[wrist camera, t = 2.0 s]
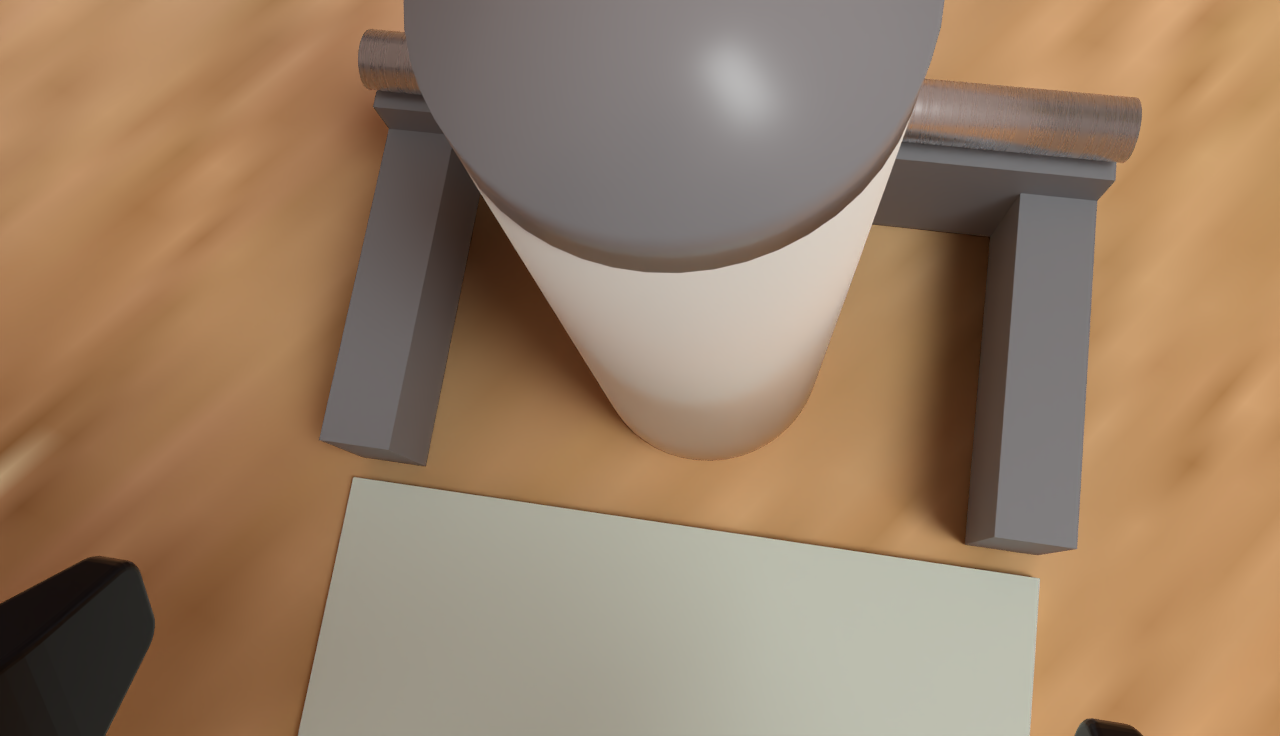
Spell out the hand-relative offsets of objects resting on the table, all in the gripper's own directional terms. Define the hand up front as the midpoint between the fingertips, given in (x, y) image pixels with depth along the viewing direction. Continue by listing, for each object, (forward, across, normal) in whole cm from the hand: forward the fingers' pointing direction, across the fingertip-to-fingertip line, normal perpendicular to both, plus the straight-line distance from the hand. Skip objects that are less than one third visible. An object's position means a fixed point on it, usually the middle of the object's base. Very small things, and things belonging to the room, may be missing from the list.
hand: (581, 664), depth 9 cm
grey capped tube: (+13, 0, +4) cm, 14 cm away
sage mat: (+6, 0, +11) cm, 13 cm away
